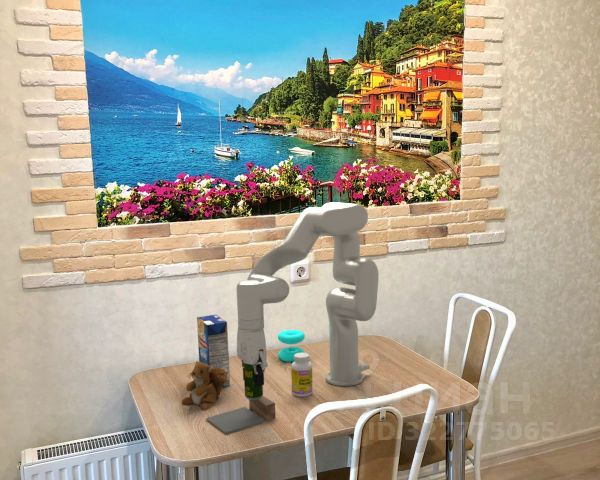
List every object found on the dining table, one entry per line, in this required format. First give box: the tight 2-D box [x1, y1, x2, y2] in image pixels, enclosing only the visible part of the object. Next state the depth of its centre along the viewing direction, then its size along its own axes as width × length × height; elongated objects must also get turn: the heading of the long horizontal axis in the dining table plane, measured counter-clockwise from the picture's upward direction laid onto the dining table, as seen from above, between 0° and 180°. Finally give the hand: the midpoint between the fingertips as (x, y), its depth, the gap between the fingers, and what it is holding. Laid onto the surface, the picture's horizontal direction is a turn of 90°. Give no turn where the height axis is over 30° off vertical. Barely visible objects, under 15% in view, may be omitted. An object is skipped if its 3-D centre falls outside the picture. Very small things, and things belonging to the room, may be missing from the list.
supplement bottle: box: [290, 352, 313, 398], centre depth 204 cm, size 7×7×13 cm
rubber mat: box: [205, 406, 267, 435], centre depth 186 cm, size 13×12×1 cm
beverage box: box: [196, 314, 231, 388], centre depth 215 cm, size 7×11×22 cm, turn 27°
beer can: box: [243, 360, 264, 401], centre depth 188 cm, size 5×5×12 cm
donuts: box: [277, 329, 306, 363], centre depth 238 cm, size 10×10×10 cm
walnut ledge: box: [248, 395, 276, 421], centre depth 191 cm, size 3×10×4 cm, turn 35°
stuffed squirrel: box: [181, 360, 230, 410], centre depth 200 cm, size 10×14×13 cm
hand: (253, 382), depth 188 cm, fingers closed on beer can, 5 cm apart
